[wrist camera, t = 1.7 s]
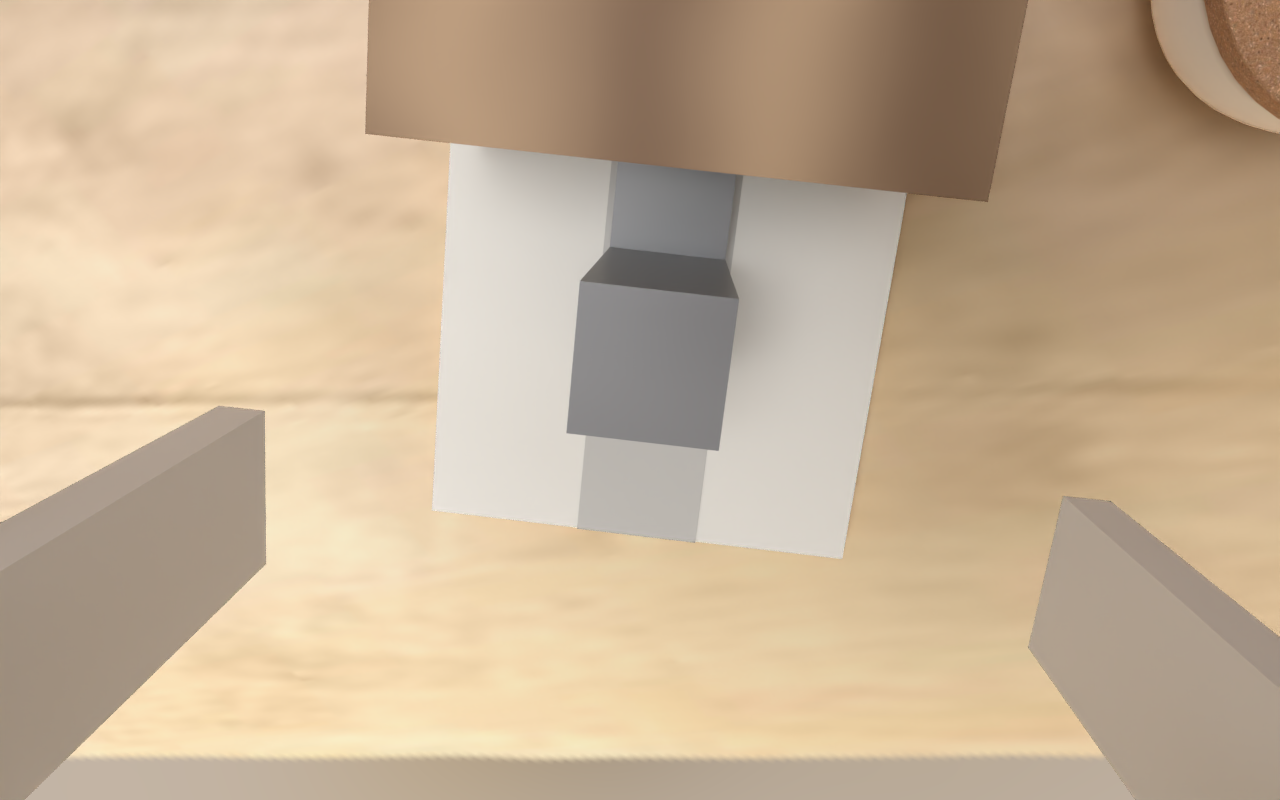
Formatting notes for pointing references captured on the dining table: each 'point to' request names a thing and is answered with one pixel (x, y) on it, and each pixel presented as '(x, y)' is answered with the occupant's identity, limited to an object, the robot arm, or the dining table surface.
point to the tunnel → (709, 84)
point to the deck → (758, 378)
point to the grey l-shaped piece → (658, 313)
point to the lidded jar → (1225, 54)
